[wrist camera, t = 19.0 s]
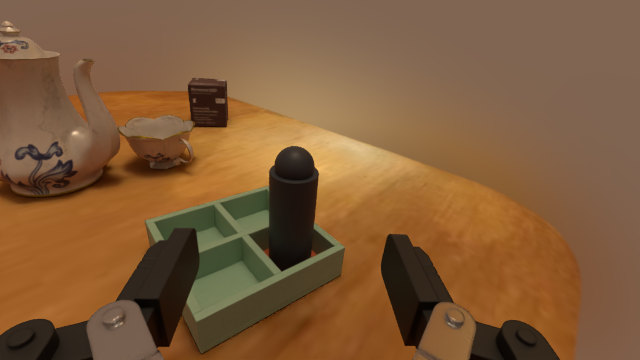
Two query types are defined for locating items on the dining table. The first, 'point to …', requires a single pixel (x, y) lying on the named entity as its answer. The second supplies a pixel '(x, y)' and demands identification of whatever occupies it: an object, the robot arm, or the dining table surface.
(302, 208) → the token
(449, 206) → the dining table surface
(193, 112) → the box
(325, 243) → the grid
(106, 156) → the chinaware
